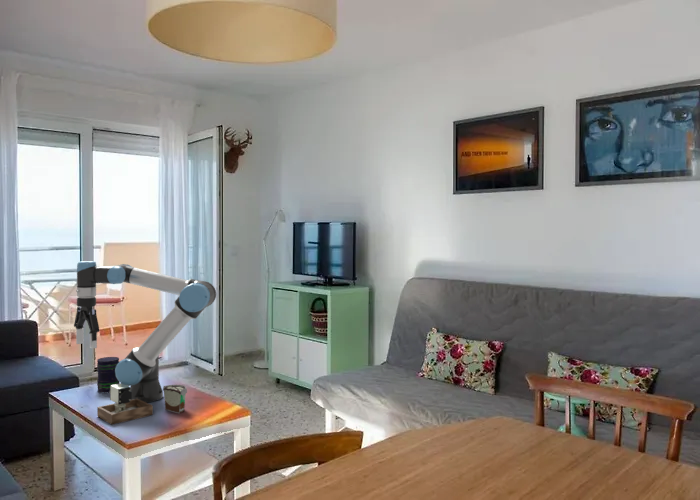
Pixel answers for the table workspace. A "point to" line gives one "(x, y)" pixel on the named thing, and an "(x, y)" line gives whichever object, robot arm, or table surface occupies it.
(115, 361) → the storage jar
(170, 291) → the robot arm
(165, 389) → the food container
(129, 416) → the walnut box
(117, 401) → the pneumatic valve
